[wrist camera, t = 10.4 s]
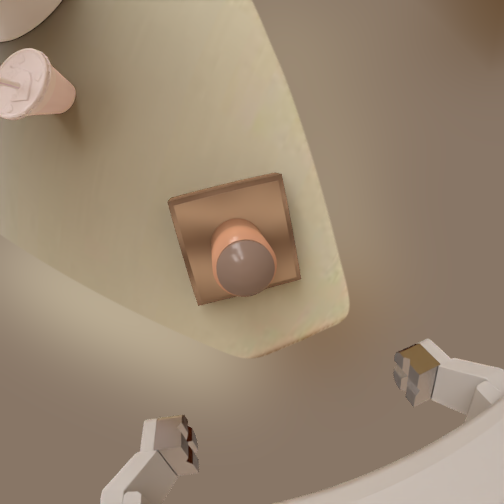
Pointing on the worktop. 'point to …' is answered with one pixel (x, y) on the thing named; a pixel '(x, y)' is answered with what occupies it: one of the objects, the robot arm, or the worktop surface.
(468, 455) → the robot arm
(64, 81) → the smoothie
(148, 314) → the worktop surface
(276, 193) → the plinth
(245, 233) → the jar
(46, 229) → the worktop surface
